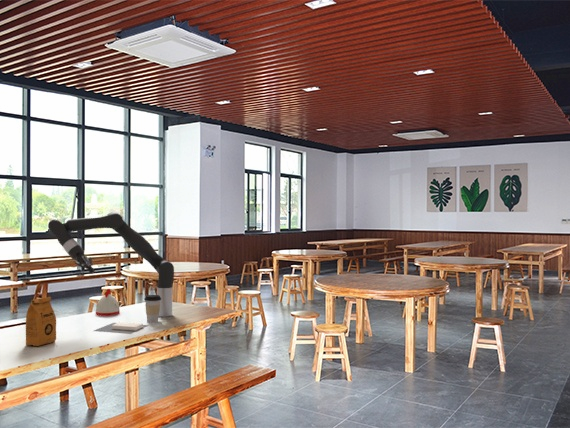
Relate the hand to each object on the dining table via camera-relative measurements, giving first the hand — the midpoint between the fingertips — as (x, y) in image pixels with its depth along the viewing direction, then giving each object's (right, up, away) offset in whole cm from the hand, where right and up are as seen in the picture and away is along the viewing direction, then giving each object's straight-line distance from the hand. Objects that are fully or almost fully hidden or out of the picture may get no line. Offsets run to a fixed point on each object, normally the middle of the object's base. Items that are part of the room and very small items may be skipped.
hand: (93, 272), depth 278 cm
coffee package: (-11, -30, -36) cm, 48 cm away
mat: (+17, -30, -4) cm, 35 cm away
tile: (+13, -28, -3) cm, 32 cm away
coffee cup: (+29, -30, +14) cm, 44 cm away
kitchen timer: (-5, -30, +36) cm, 47 cm away
